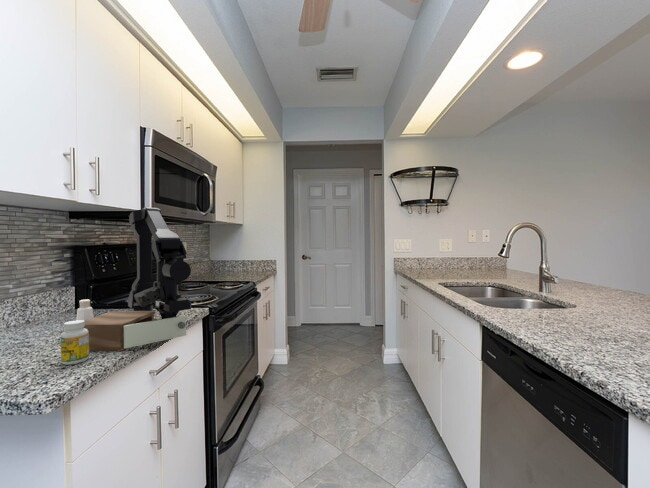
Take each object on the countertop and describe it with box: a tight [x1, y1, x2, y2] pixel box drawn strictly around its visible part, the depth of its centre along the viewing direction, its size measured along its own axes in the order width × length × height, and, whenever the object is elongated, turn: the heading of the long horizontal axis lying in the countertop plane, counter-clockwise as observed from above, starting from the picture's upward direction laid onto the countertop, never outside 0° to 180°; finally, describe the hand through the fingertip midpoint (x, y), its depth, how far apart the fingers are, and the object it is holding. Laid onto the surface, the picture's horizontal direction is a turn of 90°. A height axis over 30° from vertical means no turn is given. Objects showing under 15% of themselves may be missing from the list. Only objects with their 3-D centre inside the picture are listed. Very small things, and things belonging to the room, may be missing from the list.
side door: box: [124, 314, 187, 350], centre depth 88 cm, size 16×2×6 cm, turn 135°
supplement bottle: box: [59, 319, 90, 366], centre depth 76 cm, size 5×5×10 cm
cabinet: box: [84, 310, 156, 352], centre depth 91 cm, size 16×14×7 cm
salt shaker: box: [75, 298, 95, 320], centre depth 97 cm, size 5×5×11 cm
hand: (167, 329), depth 93 cm, fingers closed
